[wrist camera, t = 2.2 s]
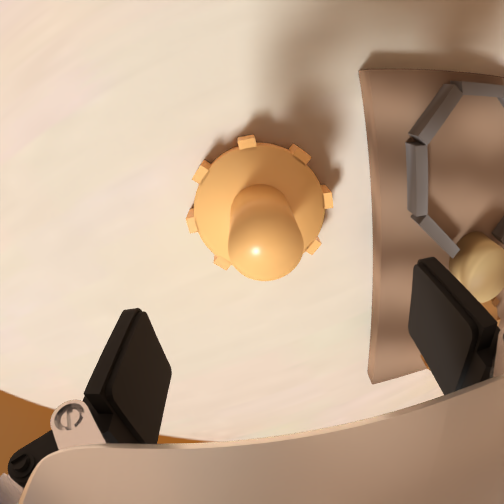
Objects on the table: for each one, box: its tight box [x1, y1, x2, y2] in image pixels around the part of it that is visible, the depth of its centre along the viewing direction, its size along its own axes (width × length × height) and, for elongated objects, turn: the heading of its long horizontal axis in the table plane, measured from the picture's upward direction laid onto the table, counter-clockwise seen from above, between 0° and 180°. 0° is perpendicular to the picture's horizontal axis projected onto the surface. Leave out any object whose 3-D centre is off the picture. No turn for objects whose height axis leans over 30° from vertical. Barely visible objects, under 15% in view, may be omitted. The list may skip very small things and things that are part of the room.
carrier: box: [359, 69, 504, 384], centre depth 17 cm, size 24×15×8 cm, turn 10°
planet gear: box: [186, 134, 333, 281], centre depth 16 cm, size 8×8×6 cm
